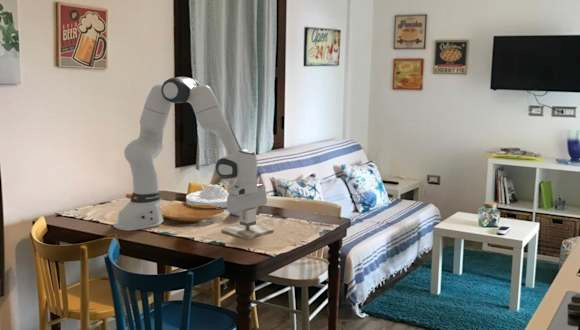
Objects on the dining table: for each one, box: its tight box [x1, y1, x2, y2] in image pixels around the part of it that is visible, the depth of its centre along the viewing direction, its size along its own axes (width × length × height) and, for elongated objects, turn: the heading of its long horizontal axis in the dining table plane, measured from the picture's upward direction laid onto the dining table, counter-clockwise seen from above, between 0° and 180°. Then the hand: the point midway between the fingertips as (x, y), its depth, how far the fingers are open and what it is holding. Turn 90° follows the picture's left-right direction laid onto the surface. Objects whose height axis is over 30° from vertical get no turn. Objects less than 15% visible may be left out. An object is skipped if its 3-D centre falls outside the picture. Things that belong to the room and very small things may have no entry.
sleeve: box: [239, 208, 257, 227], centre depth 271 cm, size 5×5×7 cm
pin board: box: [221, 223, 275, 240], centre depth 272 cm, size 16×16×4 cm
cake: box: [185, 181, 229, 209], centre depth 324 cm, size 28×28×10 cm
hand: (247, 218), depth 272 cm, fingers closed on sleeve, 5 cm apart
